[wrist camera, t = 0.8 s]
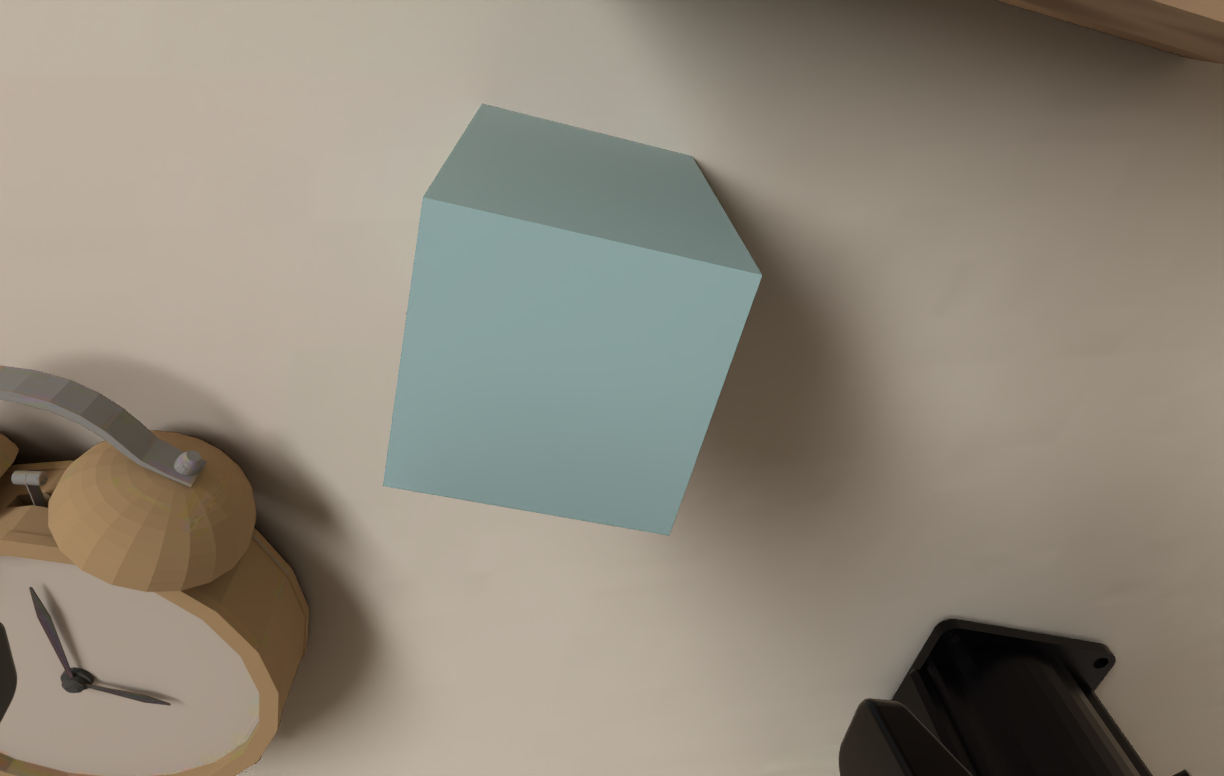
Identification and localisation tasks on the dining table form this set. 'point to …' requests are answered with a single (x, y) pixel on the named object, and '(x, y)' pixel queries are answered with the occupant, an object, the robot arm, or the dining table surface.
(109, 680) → the alarm clock
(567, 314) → the teal block
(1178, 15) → the cleat board
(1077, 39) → the dining table surface
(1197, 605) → the dining table surface
